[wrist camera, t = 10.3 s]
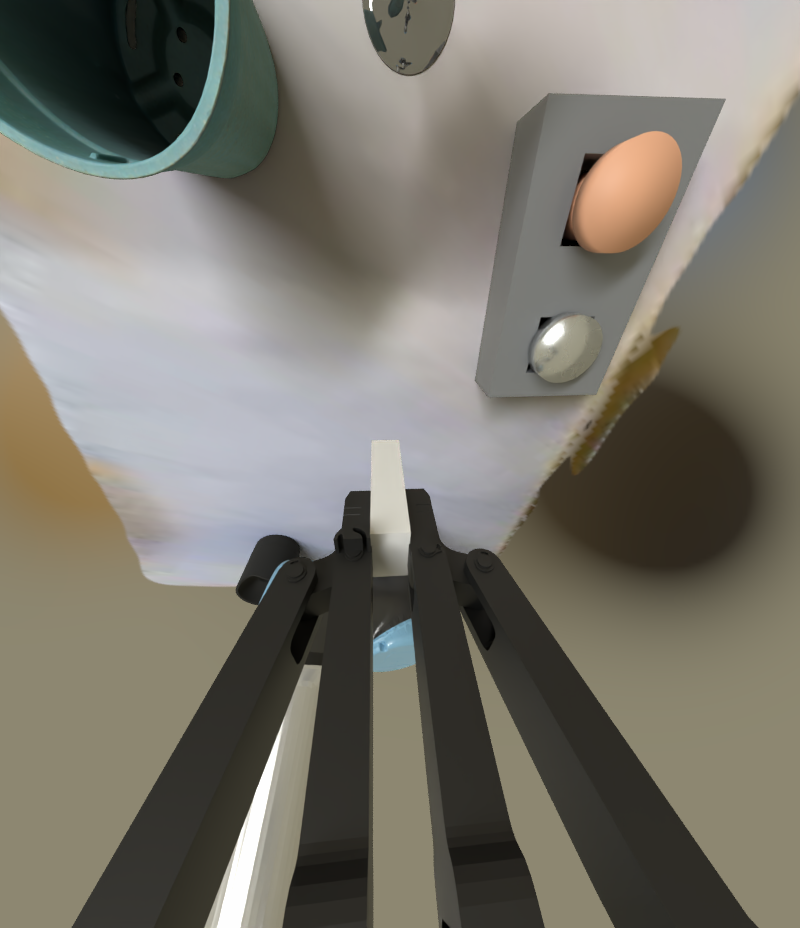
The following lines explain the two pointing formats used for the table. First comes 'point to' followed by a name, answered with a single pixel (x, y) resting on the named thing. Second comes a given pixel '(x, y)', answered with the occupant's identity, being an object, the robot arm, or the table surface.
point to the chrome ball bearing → (564, 346)
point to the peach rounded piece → (625, 194)
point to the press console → (543, 223)
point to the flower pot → (138, 86)
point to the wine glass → (408, 31)
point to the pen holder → (264, 565)
